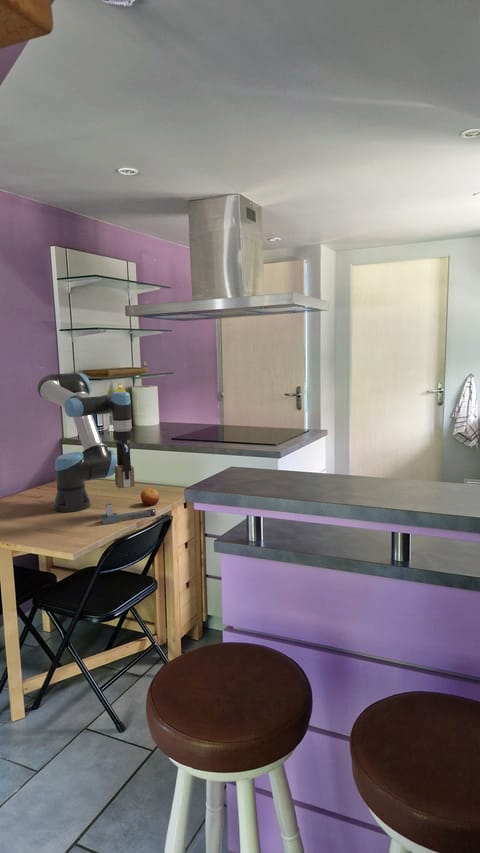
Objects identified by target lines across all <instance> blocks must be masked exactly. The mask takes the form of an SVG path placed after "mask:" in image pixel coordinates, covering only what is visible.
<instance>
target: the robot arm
mask: <svg viewBox="0 0 480 853" xmlns="http://www.w3.org/2000/svg"><path fill="white" fill-rule="evenodd" d="M36 390H37V393H38V395H39V397H40V398H41V399H43V400H44V401H48V402H52V403H54V404H56V405H58V406H60V407H61V408H62V409H64V413H65V415H66V417H67V416H68V417H69V418H73V419H72V420H73V422H74V425H75V428H76V430H77V434H78V437H79V440H80V443H81V445H82V449H83V450H82V452H80V451H74V452H67V453H63V454H61V455H59V456H57V457H56V459H55V461H54V466H55V467H54V470H55V479H56V480H55V482H56V495H55V498H54V502H53V509H54V511H56V512H61V513H67V512H69V513H71V512H79V511H82V510H85V509H87V508H89V507H91V500H90V497H89V494H88V492H87V490H86V484H85V483H86V482H87V481H94V480H99V479H105V478H109V477H112V476H113V475H115V466H120V465H123V471H122V472H123V487H126V488H131V487H130V471H131V466H132V462H131V446H130V444H128V441H130V440H132V439H133V430H132V428H133V425H132V410H131V409H132V406H131V403H132V401H131V394H130V393H129V392H128V391H114V392H112V393H111V394H103V395H99V396H90V395H91V392H92V391H91V390H92V388H91V382H90V379H89V378H88V377H87V375H86V374H84V373H82V372H71V373H70V372H69V373H68V372H67V373H50V374H47V375H45V376H43V377H42V378H41V379H39V381H38V383H37V387H36ZM108 414H109V415H110V414H111V416H112V417H111V419H112V420H111V421H112V422H111V423H110V425H112V429H113V431H112V437H113V440H114V441H116V442H115V444H116V452H115V451H113V450H111V449H109V448H108V446H107V445H106V444H104V443H103V442H102V438H101V435H100V433H99V431H98V430H99V429H98V427H97V424H96V422H95V418H94V416H96V415H97V416H99V415H108Z"/></svg>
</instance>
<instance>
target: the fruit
mask: <svg viewBox="0 0 480 853" xmlns="http://www.w3.org/2000/svg"><path fill="white" fill-rule="evenodd" d="M140 500H141V504H142V505H146V506H148V507H149V506H153V505H155V504H157V503H159V501H160V493H159V491H158V490H156V489H154V488H152V487H148V488H145V489H143V490H142V491H141V493H140Z"/></svg>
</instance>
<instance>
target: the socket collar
mask: <svg viewBox="0 0 480 853" xmlns="http://www.w3.org/2000/svg"><path fill="white" fill-rule="evenodd" d="M122 471H123V465H120V466H118V465H117V466H115V473H114V481H115V486H116V488H118V489H125V488H127V487H123V472H122ZM134 487H135V468H134V466H132V465H131V471H130V487H129V488H134Z"/></svg>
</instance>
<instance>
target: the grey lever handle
mask: <svg viewBox="0 0 480 853" xmlns="http://www.w3.org/2000/svg"><path fill="white" fill-rule="evenodd" d="M113 510H114V509H113V503H106V504H105V514H100V522H101V524H103V525H104V526H105V525H111V524H116V523H120V522H123V521H130V520H136V519H142V518H148V517H149V518H150V517H155V516H156V515H157V514H156V512H157V511H156V509H153V508H150V509H144V510H138V511H132V512H126V513H125V512H124V513H117V512H114V511H113Z"/></svg>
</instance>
